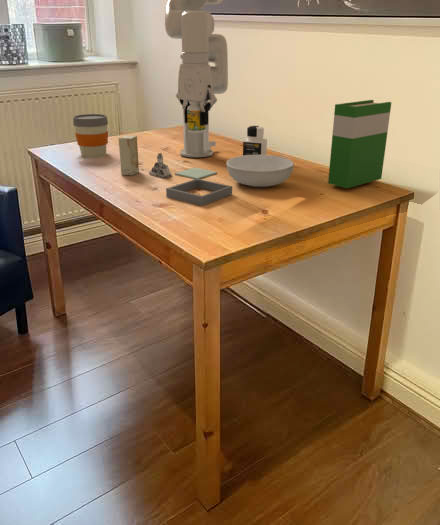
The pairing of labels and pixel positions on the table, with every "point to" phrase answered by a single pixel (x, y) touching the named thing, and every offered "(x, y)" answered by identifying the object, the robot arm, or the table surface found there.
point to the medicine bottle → (255, 141)
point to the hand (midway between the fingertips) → (196, 123)
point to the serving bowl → (259, 169)
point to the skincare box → (128, 155)
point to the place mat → (195, 173)
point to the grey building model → (160, 168)
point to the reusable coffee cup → (91, 134)
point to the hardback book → (358, 142)
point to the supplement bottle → (194, 118)
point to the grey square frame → (181, 194)
